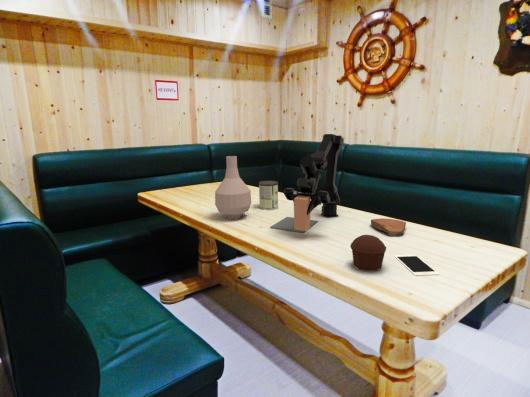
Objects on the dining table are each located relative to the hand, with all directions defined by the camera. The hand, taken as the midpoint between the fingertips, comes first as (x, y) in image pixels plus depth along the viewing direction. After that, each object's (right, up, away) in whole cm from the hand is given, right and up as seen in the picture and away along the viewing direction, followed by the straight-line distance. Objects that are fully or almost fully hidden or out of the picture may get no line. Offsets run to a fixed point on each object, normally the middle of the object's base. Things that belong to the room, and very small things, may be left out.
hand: (301, 213), depth 142 cm
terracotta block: (+1, -6, +3) cm, 7 cm away
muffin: (+19, -16, -25) cm, 35 cm away
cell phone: (+35, -16, -25) cm, 46 cm away
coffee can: (-12, +1, +51) cm, 53 cm away
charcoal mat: (-1, -6, +20) cm, 21 cm away
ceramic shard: (+38, -8, +9) cm, 40 cm away
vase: (-30, -3, +34) cm, 46 cm away
